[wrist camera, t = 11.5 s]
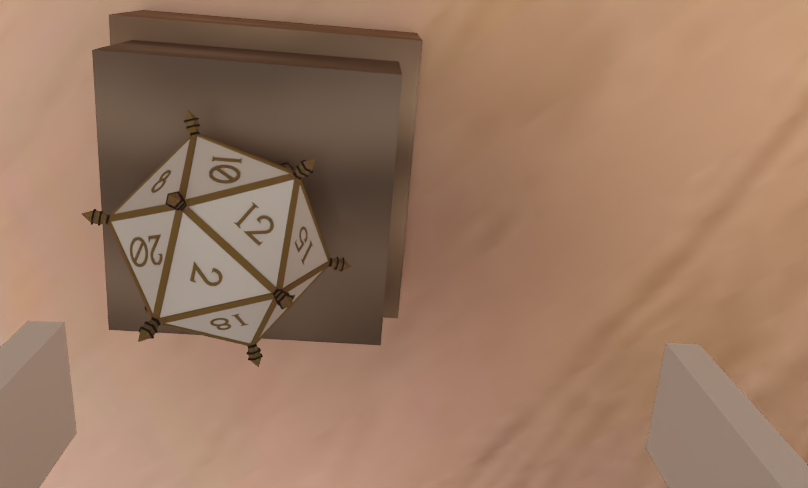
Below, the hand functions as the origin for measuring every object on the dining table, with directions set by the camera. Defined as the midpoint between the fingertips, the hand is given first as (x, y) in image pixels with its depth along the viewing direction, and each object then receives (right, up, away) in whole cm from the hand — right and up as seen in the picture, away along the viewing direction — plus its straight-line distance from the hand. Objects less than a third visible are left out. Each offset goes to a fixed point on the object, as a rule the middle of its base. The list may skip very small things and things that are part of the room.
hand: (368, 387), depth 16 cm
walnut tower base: (-6, +8, +24) cm, 26 cm away
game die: (-6, +5, +15) cm, 16 cm away
